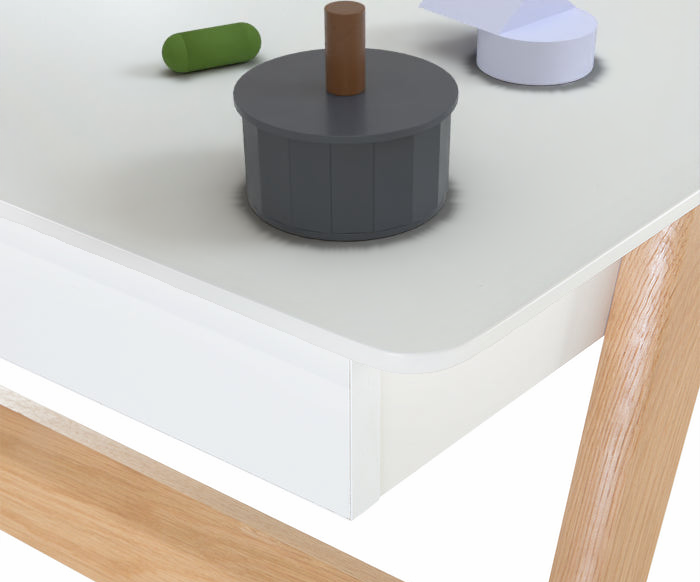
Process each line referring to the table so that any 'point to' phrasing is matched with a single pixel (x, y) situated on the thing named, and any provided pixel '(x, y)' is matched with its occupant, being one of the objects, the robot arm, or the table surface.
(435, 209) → the pot
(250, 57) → the pickle
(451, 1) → the wedge on round base
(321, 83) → the lid
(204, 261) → the table surface
